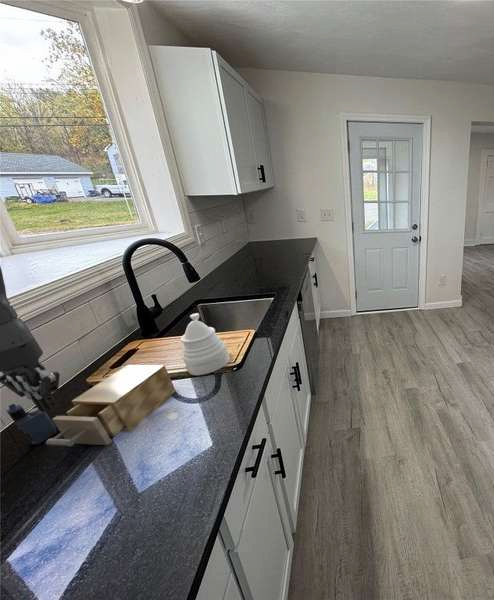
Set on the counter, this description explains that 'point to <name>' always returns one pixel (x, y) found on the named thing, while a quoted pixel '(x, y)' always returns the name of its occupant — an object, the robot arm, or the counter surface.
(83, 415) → the drawer
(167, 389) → the cabinet
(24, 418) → the vaping device
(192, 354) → the honey pot
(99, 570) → the counter surface
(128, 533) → the counter surface
